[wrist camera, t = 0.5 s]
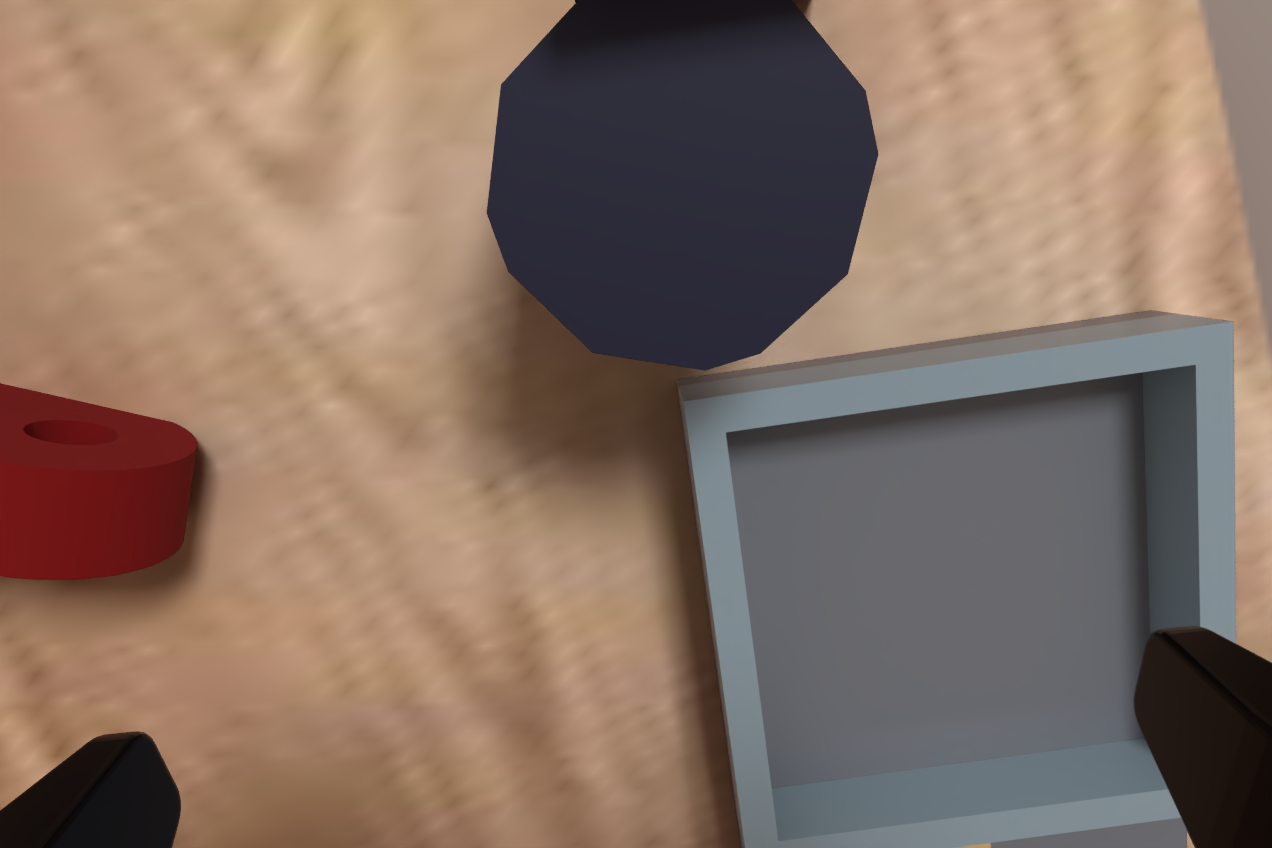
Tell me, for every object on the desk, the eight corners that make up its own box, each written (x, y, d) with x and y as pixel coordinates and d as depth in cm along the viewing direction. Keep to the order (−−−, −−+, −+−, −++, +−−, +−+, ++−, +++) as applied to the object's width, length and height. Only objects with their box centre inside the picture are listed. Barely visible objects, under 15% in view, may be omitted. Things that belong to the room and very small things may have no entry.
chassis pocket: (1164, 833, 24) (1238, 915, 21) (746, 889, 25) (762, 977, 22) (1150, 310, 21) (1233, 321, 18) (676, 379, 22) (683, 401, 19)
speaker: (566, -90, 19) (529, -327, 9) (819, -28, 20) (1034, -191, 10) (510, 254, 22) (431, 353, 12) (738, 301, 22) (848, 434, 12)
